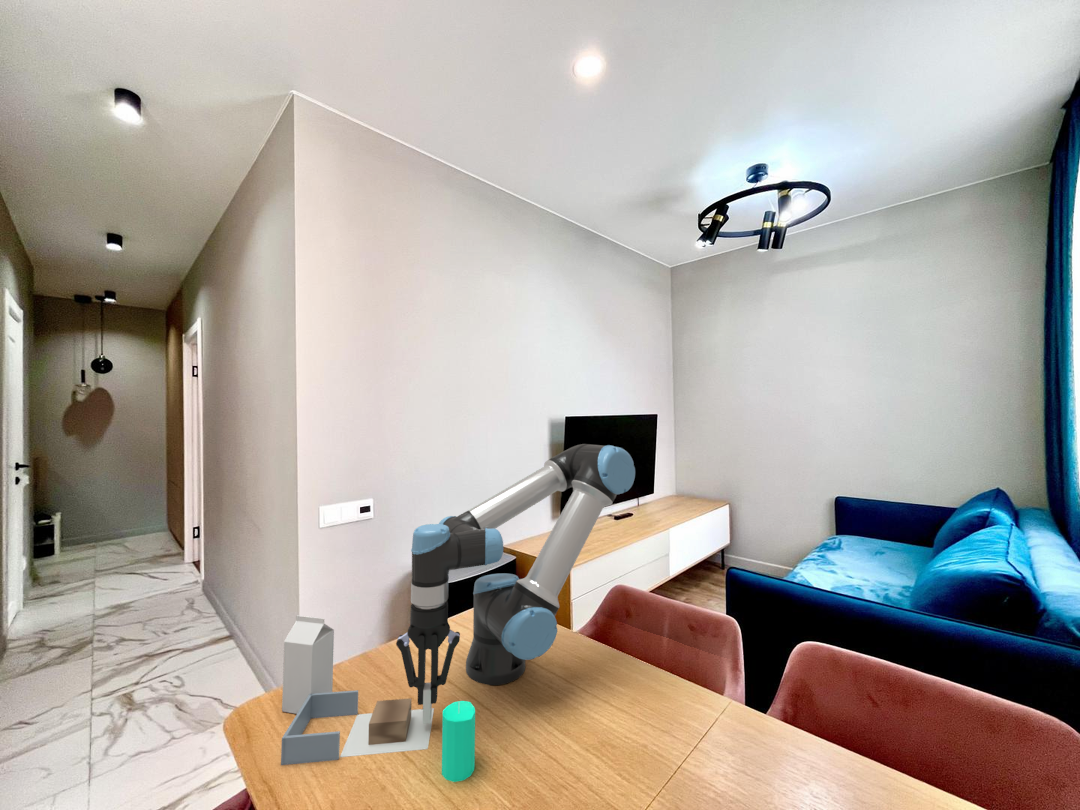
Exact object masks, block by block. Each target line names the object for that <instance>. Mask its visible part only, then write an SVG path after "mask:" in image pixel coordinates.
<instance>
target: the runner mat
mask: <svg viewBox="0 0 1080 810" xmlns="http://www.w3.org/2000/svg"><path fill="white" fill-rule="evenodd" d="M434 710H435V708H433V707H432V715H431V721H430V723H426V724H423V708H422V709H411V721H410V725H409V729H408V734H407V738H406V742H396V743H385V744H374V745H368V740H369V722H370V719H371V717H372V714H373V712H371V713H370V712H369V713H361V714H357V715H356V717H355V719H354V722H353V725H352V727H351V729H350V731H349V735H348V737H347V739H346V740H345V744H344V745H343V748H342V751H341V753H340V754H339V758H346V757H358V756H360V757H361V756H368V755H369V756H370V755H379V754H389V753H401V752H411V751H412V752H413V751H421V750H428V749H429V743H430V738H431V737H430V736H431V733H432V732H431V731H432V723H433V716H434V712H435V711H434Z"/></svg>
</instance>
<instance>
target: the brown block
mask: <svg viewBox="0 0 1080 810" xmlns="http://www.w3.org/2000/svg"><path fill="white" fill-rule="evenodd" d="M412 701H413V700H412V697H410V698H398V699H397V698H396V699H386V700H385V699H384V700H376V704H375V706H374V709H373V712H372V713H373V714H372V717H371V719H370V722H369V740H368V745H374V744H385V743H396V742H406V738H407V734H408V729H409V725H410V721H411V710H412Z"/></svg>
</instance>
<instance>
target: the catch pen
mask: <svg viewBox="0 0 1080 810" xmlns="http://www.w3.org/2000/svg"><path fill="white" fill-rule="evenodd" d="M358 713H359V690H344V691H332V692H328V693H314V694H309V696H308V697H307V699H306V700H305V702H304V704H303V705H302V707H301V708H300V710H299V712H298V713H297V714H296V715H295V717H294V718H293V720H291V723H290V725H289V726H288V727H287V729H286V731H285V732H284V733H283V736H282V737H281V749H280V750H281V751H280V753H281V755H280V766H286V765H287V766H288V765H297V764H308V763H309V764H310V763H319V762H331V761H339V760H340V744H341V742H340V741H341V740H340V739H341V731H339V730H338V731H329V732H327V731H326V732H315V733H304V731H305V730H306V728H307V727H308V724H309V722H310V721H311V719H320V718H322V719H323V718H333V717H334V718H335V717H346V716H347V717H348V716H354V715H355V716H357V715H358ZM303 733H304V734H303Z"/></svg>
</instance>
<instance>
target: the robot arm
mask: <svg viewBox="0 0 1080 810" xmlns="http://www.w3.org/2000/svg"><path fill="white" fill-rule="evenodd" d="M634 464H635V463H634V460H633V458H632V456H631V454H630V453H629V452H628V451H627V450H625V449H624V448H623V447H619V446H614V445H610V444H607V445H600V444H590V443H582V444H581V443H580V444H577V445H574V446H571V447H569V448H568V449H566V450H564V451H562V452H559V453H558V454H556V455H555V456H552V457H551V458H549V459H548V460H546V461H545V462H544V465H543V467H541V468H539V469H538V470H536V471H534V472H532V473H531V474H528V475H527V476H526V477H524V478H522V479H520V480H519V481H517V482H515V483H513V484H512V485H509V486H508V487H506V488H505V489H503V490H501V491H499V492H497V493H496V494H495V495H492V496H491V497H489V498H488V499H485V500H483V501H482V502H480V503H478V504H477V505H475V506H473V507H472V508H470V509H469V510H468V509H467V510H466V511H465V512H463V513H461V514H459V515H458V516H456V515H454V516H453V515H449V516H446V517H444V518H442V519H441V520H440V521H439V522H438V523H435V524H434V523H429V524H428V523H427V524H423V525H420V526H418V527H416V528H415V529H414V531H413V533H412V542H411V545H412V546H411V549H410V552H411V581H410V603H411V604H410V617H409V619H410V622H409V623H410V624H409V627H408V629H407V632H406V633H404V634H400V635H398V637H397V640H396V643H395V644H396V647H397V648H398V650H399V651H400V652H401V658H402V661H403V662H402V663H403V667H404V670H405V675H406V679H407V685H408V687H409V688H416V689H417V705H418V706H422V709H423V724H426V723H430V721H431V715H432V708H433V707H432V705H435V704H436V703H437V700H438V687H439V686H444V685H445V684H446V683H447V679H448V676H449V672H450V667H451V663H452V659H453V656H454V651H455V648H456V647H457V646H458V645H459V643H460V638H461V633H460V632H459V631H453V629H451V625H450V624H449V621H448V620H449V619H448V618H449V616H448V615H449V613H448V612H449V601H448V599H449V574H450V571H454V570H455V571H456V570H460V569H468V568H474V567H481V566H487V565H491V564H494V563H498V562H500V560H501V559H502V557H503V554H504V540H503V536H502V533H501V532H500V531H499V530H498V529H497V528H500V526H502V525H503V524H506V523H507V522H509V521H510V520H512V519H514V518H515V517H517V516H518V515H520V514H521V513H524V512H525V511H526V510H528V509H530V508H531V507H533V506H535V505H536V504H538V503H540V502H541V501H542V500H544V499H546V498H547V497H549V496H552V494H554V493H556V492H565V491H567V490H568V489H570V488H572V493H571V495H570V496H569V498H568V501H567V502H566V503H565V506H564V508H563V509H562V511H561V513H560V514H559V516H558V519H557V520H556V521H555V523H554V526H553V528H552V530H551V531H550V533H549V534H548V536H547V539H546V540H545V542H544V543H543V546H542V547H541V549H540V551H539V553H538V555H537V556H536V558H535V561H534V562H533V564H532V566H531V568H530V569H529V571H528V573H527V575H526V576H525V577H524V578H519V575H516V574H513V573H505V572H504V573H491V574H487V575H482V576H481V577H479V578H477V579H476V580H475V582H474V586H473V592H472V594H473V620H472V621H473V633H472V634H473V637H472V641H471V644H470V647H469V651H468V652H467V653H468V654H467V657H466V659H465V672H466V675H467V676H468V678H469V679H471V680H473V681H474V682H476V683H479V684H482V685H488V686H499V685H500V686H501V685H505V684H508V683H512V682H514V681H516V680H518V679H519V678H520V677H521V676H522V675H523V674H524V672H525V669H526V661H530V660H535V658H539V657H541V656H543V655H544V654H546V652H547V651H549V649H550V648H551V647H552V646H553V644H554V642H555V640H556V637H557V634H558V626H557V625H558V622H557V619H556V616H557V612H558V611H559V609H560V603H559V598H558V597H559V595H560V592H561V591H562V589H563V587H564V585H565V583H566V581H567V579H568V577H569V575H570V573H571V571H572V569H573V567H574V565H575V564H576V562H577V559H578V558H579V555H580V554H581V552H582V550H583V548H584V546H585V544H586V541H587V540H588V538H589V536H590V534H591V532H592V530H593V528H594V526H595V524H596V522H597V520H598V518H599V517H600V515H601V512H602V511H603V509H604V508H606V507H609V506H612V505H613V502H614V501H615V499H616V498H617V495H620V494H624V493H626V492H628V491H629V490H630V489H631V488H632V487H633V485H634V481H635V478H636V467H635V465H634ZM446 638H447V642H448V646H447V649H446V654H445V658H444V661H443V665H442V669H441V673H440V675H439V647H440V646H441V645H442V644H443V642H444V641H445V640H446ZM410 641H411V643H413V645H414V646H415V648H417V649H418V651H417V658H418V661H417V662H418V663H417V674H416V670H415V666H414V660H413V657H412V651H411V647H410ZM427 650H430V659H431V660H430V682H426V665H427V663H426V661H427V659H426V656H427V655H426V654H427Z"/></svg>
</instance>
